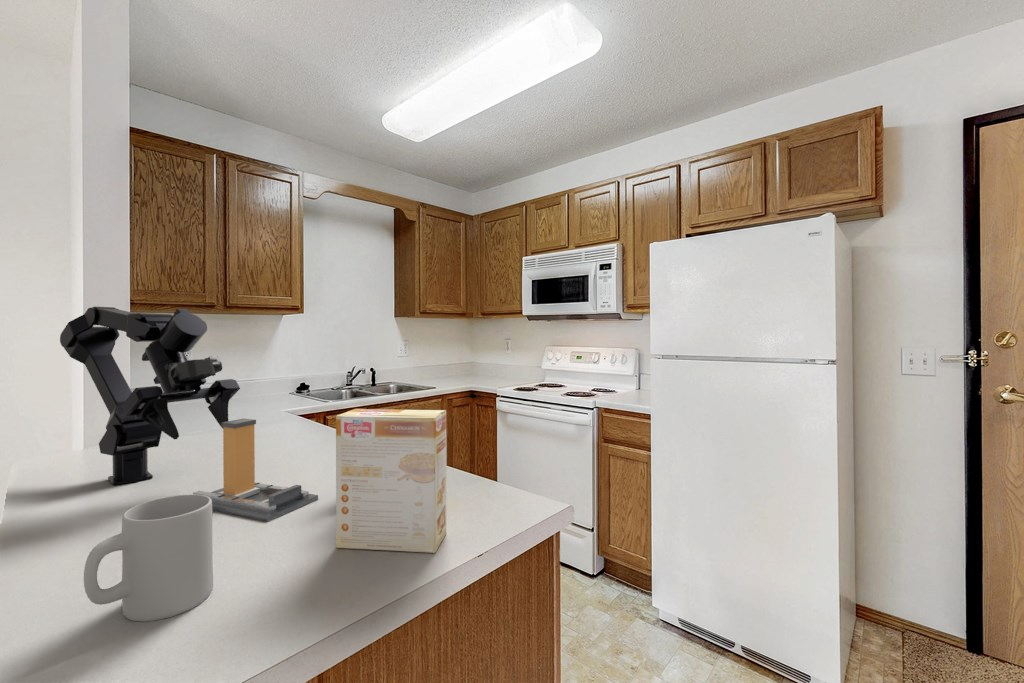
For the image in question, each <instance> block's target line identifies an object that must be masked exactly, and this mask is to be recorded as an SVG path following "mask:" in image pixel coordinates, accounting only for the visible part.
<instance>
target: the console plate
mask: <svg viewBox="0 0 1024 683" xmlns="http://www.w3.org/2000/svg"><path fill="white" fill-rule="evenodd" d="M255 487H257V488H260V492H259V493H257V494H254V495H251V496H248V497H246V498H243V499H242V498H239V497H232V496H226V495H221V494H218V493H219V492H222V491H224V487H223V488H220V489H216V490H213V491H205V490H196V491H194V492H192V495H204V496H207V497H209V498H211V500H212V511H213V512H220V513H224V514H228V513H229V514H230V515H233V514H234V516H238V515H239V517H244V518H248V517H249V518H250V519H254V520H258V519H259V520H258V521H263V520H264V521H263V522H271V521H273V520H275V519H277V518H279V516H280V517H281V516H284V515H287V514H288V512H289V513H291V512H293V511H295V510H298V509H300V508H302V507H304V506H306V505H308V504H310V503H313V502H316V501H318V500H319V495H318V494H313V493H309V490H308V491H307V490H303V489H302V485H301V484H294V485H292V486H290V487H288V486H279V485H273V484H267V483H260V482H255ZM272 519H273V520H272ZM270 520H271V521H270Z"/></svg>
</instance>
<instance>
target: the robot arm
mask: <svg viewBox="0 0 1024 683" xmlns="http://www.w3.org/2000/svg"><path fill="white" fill-rule="evenodd" d="M119 331H121V332H125V336H126V337H127V338H129V339H131V340H133V341H134V342H136V343H140V342H141V343H147V342H150V343H149V344H148V346H147V347H145V351H144V353H143V354H142V357H141V361H143V362H148V361H149V363H150V365H151V366H152V369H153V371H154V374H155V377H154V378H153V382H154V384H155V385H153V386H142V387H135V388H134V389H133V390H132V389H131V388H130V385H129V384H128V382H127V380H126V379H125V377H124V375H123V373H122V371H121V369H120V367H119V366H118V364H117V362H116V360H115V358H114V356H113V354H112V352H113V350H114V348H115V344H116V341H117V340H118V338H119V337H120V333H119ZM207 331H208V325H207V323H206V321H204V320H203V319H202V318H201V317H199V316H197V315H196V314H193V313H192V312H190V310H189V308H188V309H187V308H176V310H175V311H174V313H173V314H171V313H147V312H144V313H143V312H141V313H140V312H139V313H138V312H133V311H132V312H131V311H126V310H122V309H119V308H116V307H109V306H92V307H88V308H87V309H86V310H85V313H83V314H82V315H80V316H78V317H76V318H74V319H72V320H70V321H69V322H68V323H67V324H66V326H65V327H64V329H63V330H62V331H61V333H60V336H59V342H60V345H61V346H62V348H63V349H64V351H65V352H66V353H67V354H68V356H69V357H70V358H72V359H73V360H75V361H77V362H79V363H82V364H84V365H85V368H86V370H87V372H88V373H89V375H90V377H91V379H92V381H93V383H94V385H95V387H96V389H97V392H98V393H99V395H100V397H101V400H102V401H103V403H104V405H105V407H106V408H107V411H108V413H109V418H108V421H107V423H106V426H105V429H106V431H105V433H104V434H103V436H102V437H101V439H100V441H99V442H98V447H99V452H100V454H102V455H107V456H111V457H112V475H109V476H107V479H108V481H109V482H110V483H111V484H112V485H113V486H117V485H121V484H122V485H123V484H127V483H132V482H133V483H134V482H138V481H144V480H150V479H153V477H154V476H153V474H152V473H150V471H148V470H149V469H148V468H149V467H148V464H149V462H148V461H149V460H148V456H149V455H148V449H151V448H157V447H159V445H160V442H161V436H162V432H163V433H164V434H166V435H167V436H168V437H170V438H171V439H173V440H178V438H180V434H179V431H178V428H177V426H176V424H175V422H174V419H173V417H172V416H171V415H172V414H170V411H169V409H168V408H169V407H168V403H175V402H176V403H177V402H185V401H193V400H200V399H204V401H205V402H206V404H208V405H209V406H207V408H208V411H209V412H210V413H211V415H212V416H213V417H214V419H215V420H216V422H217V423H218V425H219V426H220V427H221V423H222V422H227V421H229V403H230V400H231V399H232V398H233V397H234V396H235V395H236V394H237V393H238V392H239V390H240V389H241V387H240V385H239V384H238V382H237V380H236V379H233V378H228V379H218V380H215V381H214V382H213V383H212V384H211V385H210V387H204V388H201V386H202V385H205V384H206V383H207V378H209V377H211V376H212V377H214V376H216V373H219V372H222V370H223V363H222V361H221V359H220V358H219V357H218V355H215V356H214V355H211V356H210V355H209V356H208V357H206V358H202V359H189V360H188V357H187V356H186V354H185V353H186V352H187V353H188V352H191V351H192V349H193V348H194V347H195V346H196V345H197V343H198V342H199V341H200V340H201V338H202V337H203V336H204V335H205V334H206V333H207ZM158 385H160V386H158ZM221 428H222V429H223V427H221Z"/></svg>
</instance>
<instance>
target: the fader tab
mask: <svg viewBox="0 0 1024 683" xmlns="http://www.w3.org/2000/svg"><path fill="white" fill-rule="evenodd" d="M256 424H257V419H253V418H251V419H250V418H239V419H234V420H232V419H231V420H228V421H227V422H222V423H221V426H220V427H221V428H222V427H223V428H222V438H223V440H222V442H223V443H222V444H223V447H222V448H223V450H222V451H223V458H222V459H223V464H222V465H223V472H222V473H223V488H224V491H222V492H219V493H218V494H221V495H226V496H232V497H239V498H242V499H243V498H246V497H248V496H251V495H254V494H257V493H259V492H260V488H257V487H255V483H256V481H255V480H256V478H255V458H256V457H255V456H256V455H255V425H256Z"/></svg>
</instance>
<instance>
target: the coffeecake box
mask: <svg viewBox="0 0 1024 683" xmlns="http://www.w3.org/2000/svg"><path fill="white" fill-rule="evenodd" d="M335 490H336V491H335V502H336V503H335V531H336V532H335V534H336V535H335V542H336V543H335V545H336V546H335V547H336V549H350V550H351V549H352V550H353V549H355V550H356V549H357V550H373V551H374V550H375V551H391V552H392V551H393V552H394V551H395V552H412V553H430V554H436V553H437V551H438V548H439V546H440V544H441V543H442V541H443V540H444V538H445V537H446V535H447V410H446V409H443V410H442V409H397V408H396V409H395V408H394V409H390V408H388V409H387V408H384V409H383V408H380V409H379V408H368V409H367V408H354V409H351V410H348V411H346V412H343V413H339V414H337V415H336V416H335Z"/></svg>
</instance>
